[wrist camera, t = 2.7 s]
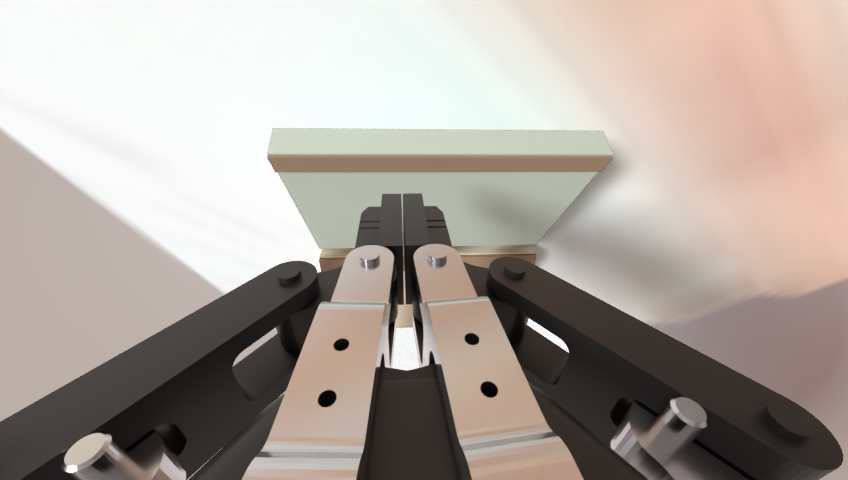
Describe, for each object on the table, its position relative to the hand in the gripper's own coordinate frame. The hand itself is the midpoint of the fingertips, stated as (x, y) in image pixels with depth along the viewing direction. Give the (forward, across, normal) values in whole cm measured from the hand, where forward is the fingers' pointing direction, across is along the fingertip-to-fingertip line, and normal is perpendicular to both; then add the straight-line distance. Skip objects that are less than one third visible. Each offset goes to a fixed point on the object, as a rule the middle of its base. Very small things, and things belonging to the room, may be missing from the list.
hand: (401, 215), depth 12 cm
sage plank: (+7, -2, +2) cm, 8 cm away
